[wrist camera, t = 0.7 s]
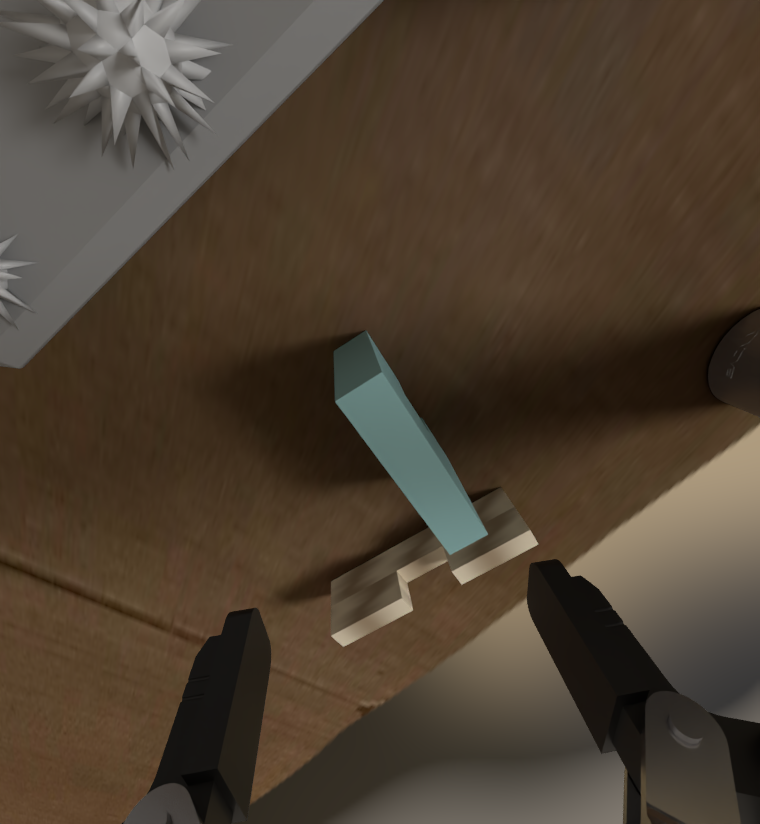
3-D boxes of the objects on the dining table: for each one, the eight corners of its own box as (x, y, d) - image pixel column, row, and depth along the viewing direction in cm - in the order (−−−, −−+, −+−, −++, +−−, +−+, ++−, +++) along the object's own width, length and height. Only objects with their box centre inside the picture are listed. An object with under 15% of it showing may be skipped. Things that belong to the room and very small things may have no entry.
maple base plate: (501, 487, 37) (530, 529, 32) (508, 500, 38) (538, 544, 33) (330, 581, 40) (330, 635, 34) (341, 592, 40) (343, 646, 35)
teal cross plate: (333, 351, 30) (335, 401, 21) (366, 330, 29) (382, 371, 20) (419, 473, 35) (449, 555, 26) (447, 457, 35) (488, 534, 26)
